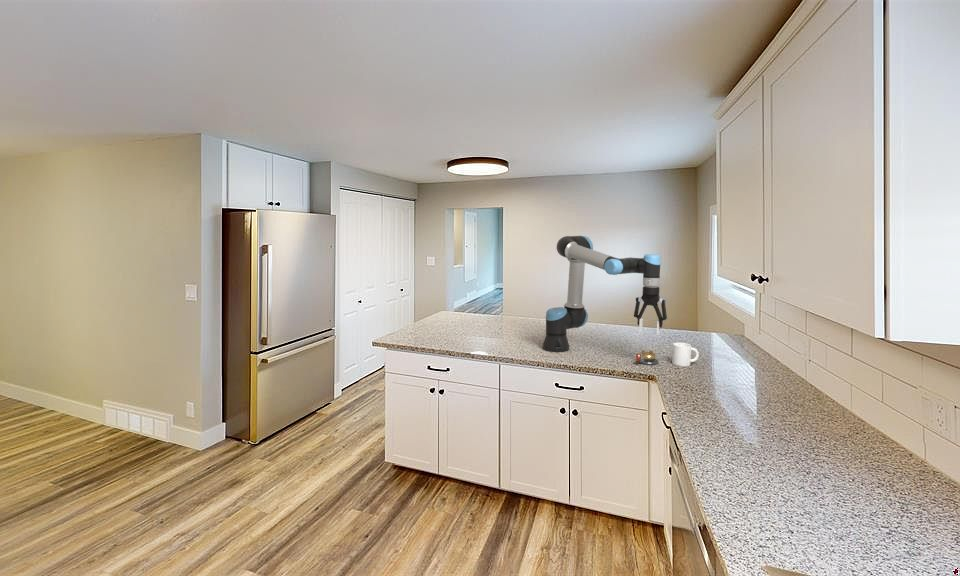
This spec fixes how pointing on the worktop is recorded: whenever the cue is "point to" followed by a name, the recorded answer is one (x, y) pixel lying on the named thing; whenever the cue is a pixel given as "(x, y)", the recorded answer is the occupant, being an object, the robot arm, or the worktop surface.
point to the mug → (683, 354)
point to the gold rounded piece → (645, 356)
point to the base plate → (649, 362)
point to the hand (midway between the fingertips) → (649, 332)
